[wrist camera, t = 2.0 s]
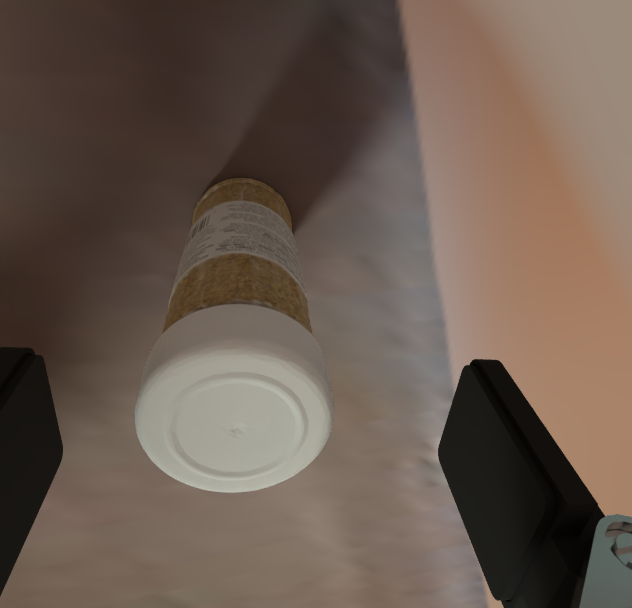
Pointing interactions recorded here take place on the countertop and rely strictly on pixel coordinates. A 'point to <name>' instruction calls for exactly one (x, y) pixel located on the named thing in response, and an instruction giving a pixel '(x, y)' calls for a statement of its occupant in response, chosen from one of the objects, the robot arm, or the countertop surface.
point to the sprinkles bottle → (236, 352)
